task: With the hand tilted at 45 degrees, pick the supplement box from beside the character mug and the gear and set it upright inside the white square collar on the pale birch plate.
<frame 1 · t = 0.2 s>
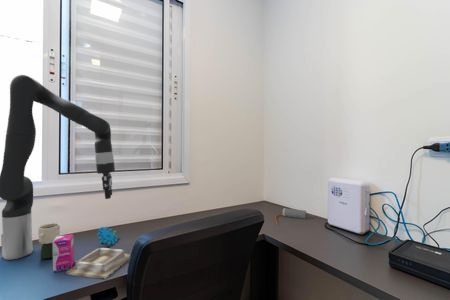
hand: (108, 196, 108), 22 cm above the table, tool pointing down, fingers open, 8 cm apart
character mug: (50, 257, 96), on the table
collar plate: (101, 264, 90), on the table
gear: (108, 243, 109), on the table
supplement box: (64, 267, 88), on the table
motor: (292, 222, 137), on the table
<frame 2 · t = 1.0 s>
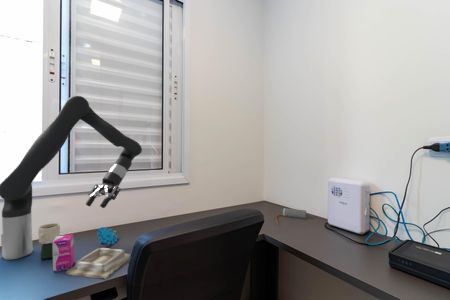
hand: (94, 206, 100), 20 cm above the table, tool tilted 45°, fingers open, 8 cm apart
nothing on the table moved.
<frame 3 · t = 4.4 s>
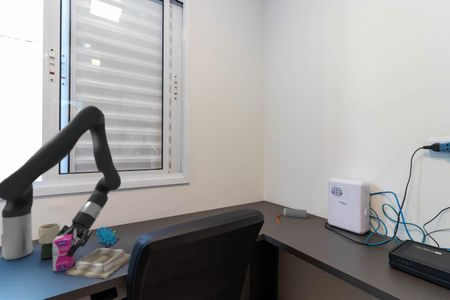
hand: (60, 254, 87), 5 cm above the table, tool tilted 45°, fingers open, 8 cm apart
supplement box: (64, 267, 88), on the table, touching gripper
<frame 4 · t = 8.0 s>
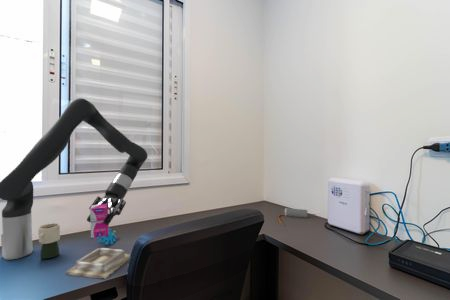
hand: (96, 222, 88), 17 cm above the table, tool tilted 45°, fingers closed on supplement box, 8 cm apart
supplement box: (100, 235, 89), point 11 cm above the table, touching gripper
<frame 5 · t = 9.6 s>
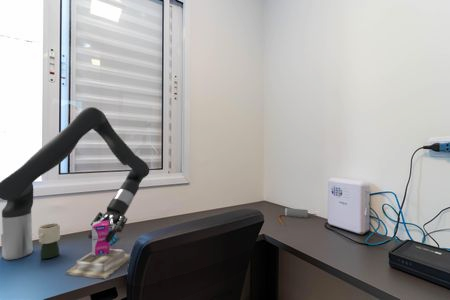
hand: (98, 240, 88), 10 cm above the table, tool tilted 45°, fingers closed on supplement box, 8 cm apart
supplement box: (101, 252, 90), point 5 cm above the table, touching gripper
when the fingers open (7 cm above the table, at t = 11.0 s): supplement box stays where it is, resting on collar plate.
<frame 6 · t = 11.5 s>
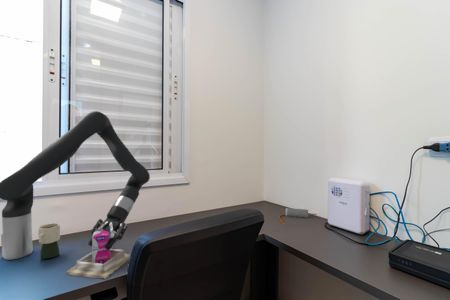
hand: (98, 247, 88), 7 cm above the table, tool tilted 45°, fingers open, 8 cm apart
supplement box: (101, 262, 90), point 1 cm above the table, touching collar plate, gripper
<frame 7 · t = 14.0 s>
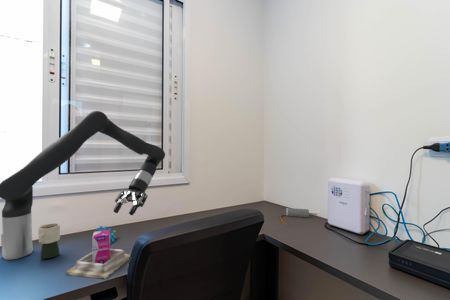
hand: (122, 213, 99), 17 cm above the table, tool tilted 45°, fingers open, 8 cm apart
supplement box: (101, 262, 90), point 1 cm above the table, touching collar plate
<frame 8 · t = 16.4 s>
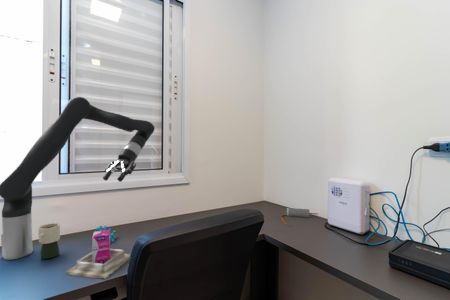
hand: (111, 180, 103), 31 cm above the table, tool tilted 45°, fingers open, 8 cm apart
at the end: supplement box 0.1 cm off-centre on the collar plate, point 0.8 cm above the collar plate's base; supplement box tilted 0°; the gripper is holding nothing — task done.
